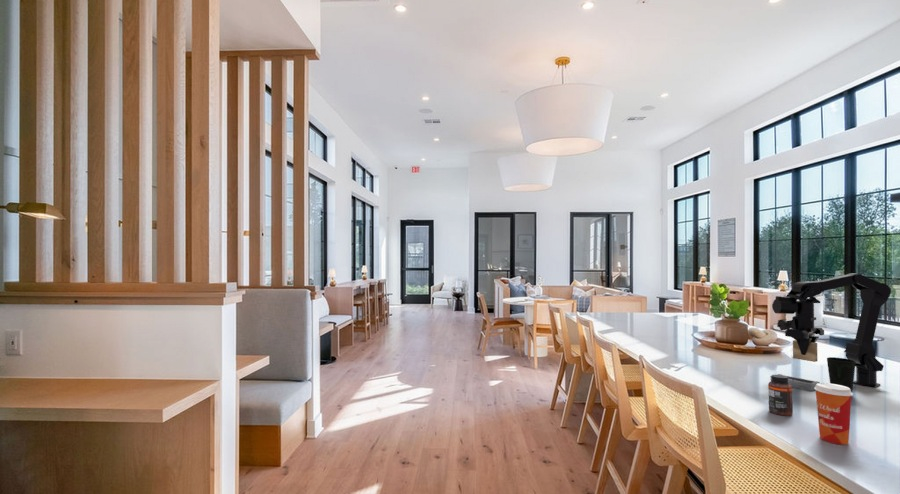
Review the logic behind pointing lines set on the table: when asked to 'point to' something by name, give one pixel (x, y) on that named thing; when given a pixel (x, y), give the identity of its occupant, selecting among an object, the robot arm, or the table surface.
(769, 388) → the supplement bottle
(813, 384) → the track
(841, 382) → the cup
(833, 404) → the paper cup
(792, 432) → the table surface
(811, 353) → the oak panel
